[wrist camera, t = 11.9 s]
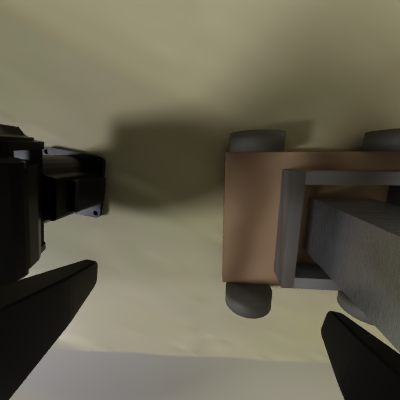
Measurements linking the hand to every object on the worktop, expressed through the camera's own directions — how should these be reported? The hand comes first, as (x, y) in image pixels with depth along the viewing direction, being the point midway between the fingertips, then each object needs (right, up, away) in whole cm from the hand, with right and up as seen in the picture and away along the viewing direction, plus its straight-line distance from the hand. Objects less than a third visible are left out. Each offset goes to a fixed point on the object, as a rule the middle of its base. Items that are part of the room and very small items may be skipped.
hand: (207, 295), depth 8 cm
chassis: (+10, +2, +12) cm, 16 cm away
